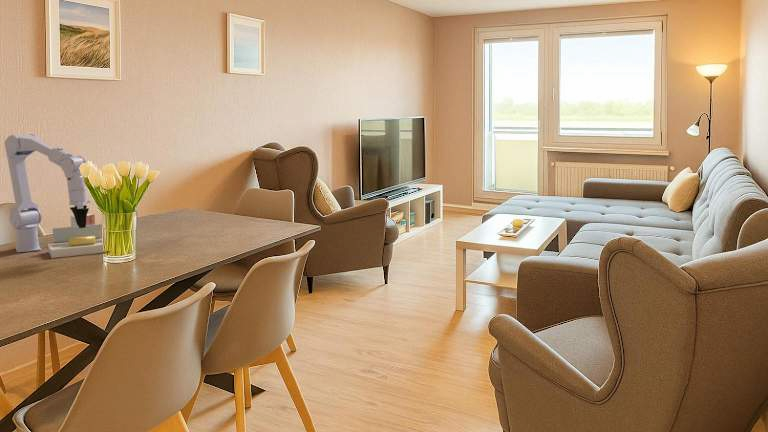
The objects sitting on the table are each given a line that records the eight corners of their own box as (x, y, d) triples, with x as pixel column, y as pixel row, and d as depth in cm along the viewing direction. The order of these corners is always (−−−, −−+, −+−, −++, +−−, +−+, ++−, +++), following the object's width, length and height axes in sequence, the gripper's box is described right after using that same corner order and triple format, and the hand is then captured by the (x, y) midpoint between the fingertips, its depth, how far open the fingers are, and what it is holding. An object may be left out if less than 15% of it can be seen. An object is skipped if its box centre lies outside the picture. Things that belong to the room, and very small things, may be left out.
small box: (84, 242, 259) (82, 216, 257) (71, 241, 260) (69, 216, 258) (96, 238, 267) (94, 213, 265) (84, 237, 268) (82, 213, 266)
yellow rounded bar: (69, 245, 237) (68, 237, 237) (69, 246, 239) (68, 239, 240) (95, 242, 242) (94, 234, 242) (94, 244, 244) (93, 236, 245)
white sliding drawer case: (51, 258, 232) (51, 250, 232) (48, 252, 241) (47, 244, 241) (110, 251, 243) (109, 244, 242) (104, 246, 252) (104, 238, 252)
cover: (51, 228, 239) (51, 228, 240) (53, 243, 240) (52, 243, 241) (99, 224, 248) (98, 224, 249) (100, 239, 249) (99, 238, 250)
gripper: (90, 189, 227) (95, 227, 229) (87, 187, 239) (91, 223, 241) (68, 191, 223) (73, 230, 225) (66, 189, 236) (71, 225, 238)
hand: (81, 226), depth 233 cm, fingers open, 7 cm apart
